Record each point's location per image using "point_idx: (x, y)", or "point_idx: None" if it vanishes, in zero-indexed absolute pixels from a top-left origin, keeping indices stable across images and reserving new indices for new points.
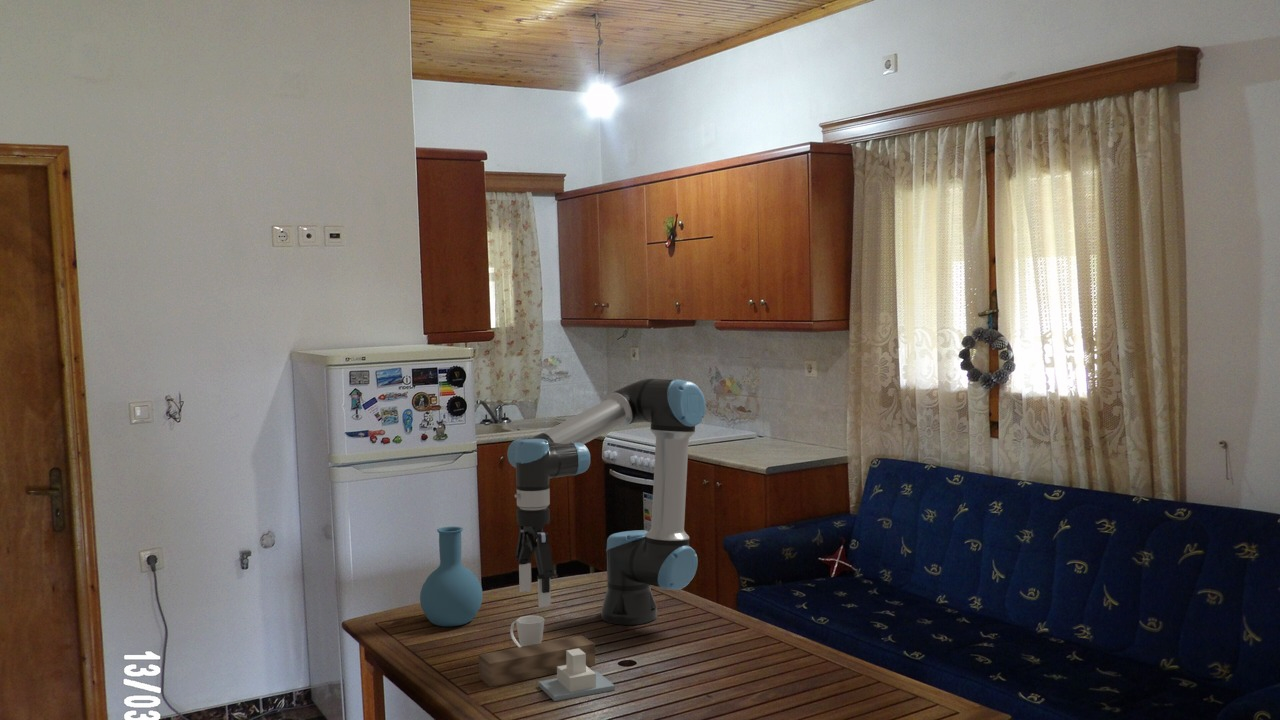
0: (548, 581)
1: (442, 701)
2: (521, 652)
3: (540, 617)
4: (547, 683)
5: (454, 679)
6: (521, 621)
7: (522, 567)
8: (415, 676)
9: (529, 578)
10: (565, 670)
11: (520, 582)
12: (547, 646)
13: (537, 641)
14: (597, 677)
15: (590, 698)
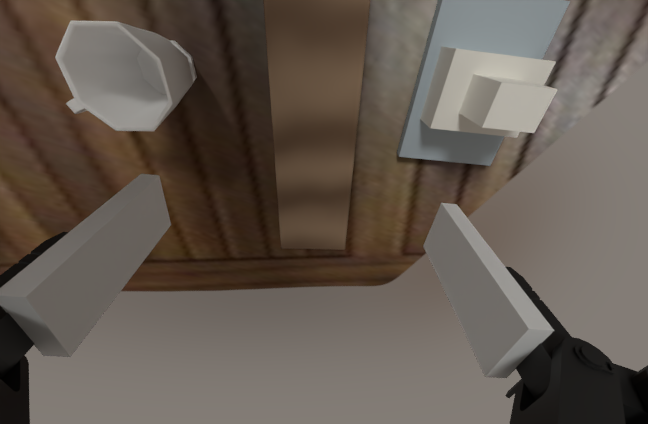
0: (558, 330)
1: (354, 285)
2: (316, 175)
3: (87, 26)
4: (422, 146)
5: (276, 252)
6: (90, 95)
7: (77, 325)
8: (236, 286)
9: (118, 225)
10: (468, 122)
11: (144, 258)
12: (309, 96)
13: (184, 63)
14: (485, 13)
15: None
